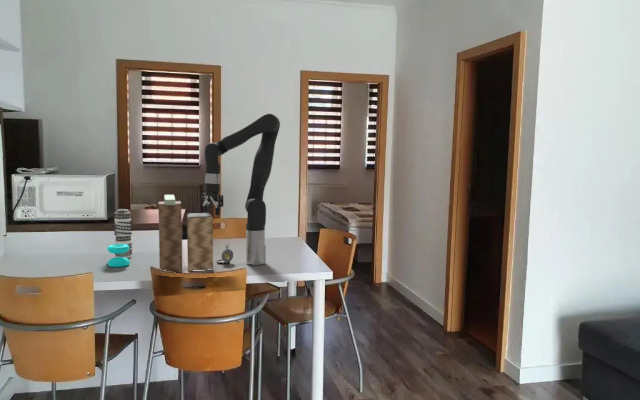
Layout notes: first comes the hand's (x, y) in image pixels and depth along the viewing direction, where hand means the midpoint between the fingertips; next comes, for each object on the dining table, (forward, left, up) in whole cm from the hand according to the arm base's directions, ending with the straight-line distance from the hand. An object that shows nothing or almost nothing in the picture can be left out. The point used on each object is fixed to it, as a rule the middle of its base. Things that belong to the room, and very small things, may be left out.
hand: (211, 214), depth 253 cm
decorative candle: (+43, -21, -24) cm, 54 cm away
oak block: (+7, +15, -24) cm, 29 cm away
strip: (+20, +12, +8) cm, 25 cm away
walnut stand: (+20, +14, -24) cm, 34 cm away
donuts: (+44, -1, -24) cm, 51 cm away
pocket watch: (-6, +7, -24) cm, 26 cm away
